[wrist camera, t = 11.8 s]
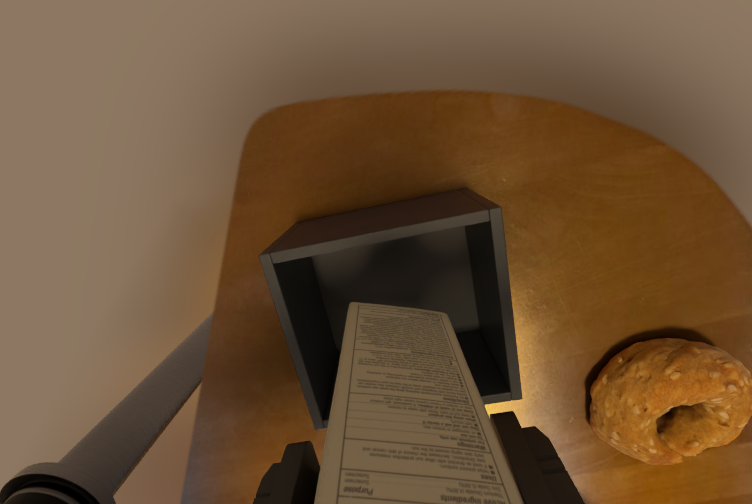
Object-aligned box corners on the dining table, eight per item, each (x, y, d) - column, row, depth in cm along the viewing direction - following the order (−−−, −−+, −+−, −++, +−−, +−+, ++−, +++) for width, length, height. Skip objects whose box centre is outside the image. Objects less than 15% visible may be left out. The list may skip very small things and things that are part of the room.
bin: (333, 356, 28) (315, 430, 21) (295, 222, 25) (258, 255, 18) (486, 330, 27) (522, 399, 20) (466, 187, 24) (501, 206, 17)
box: (340, 371, 19) (280, 670, 8) (349, 297, 17) (292, 538, 7) (438, 384, 19) (506, 697, 8) (454, 311, 17) (560, 571, 7)
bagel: (551, 394, 29) (583, 442, 24) (666, 301, 26) (725, 335, 21) (630, 458, 30) (673, 514, 26) (744, 377, 28) (815, 423, 23)
